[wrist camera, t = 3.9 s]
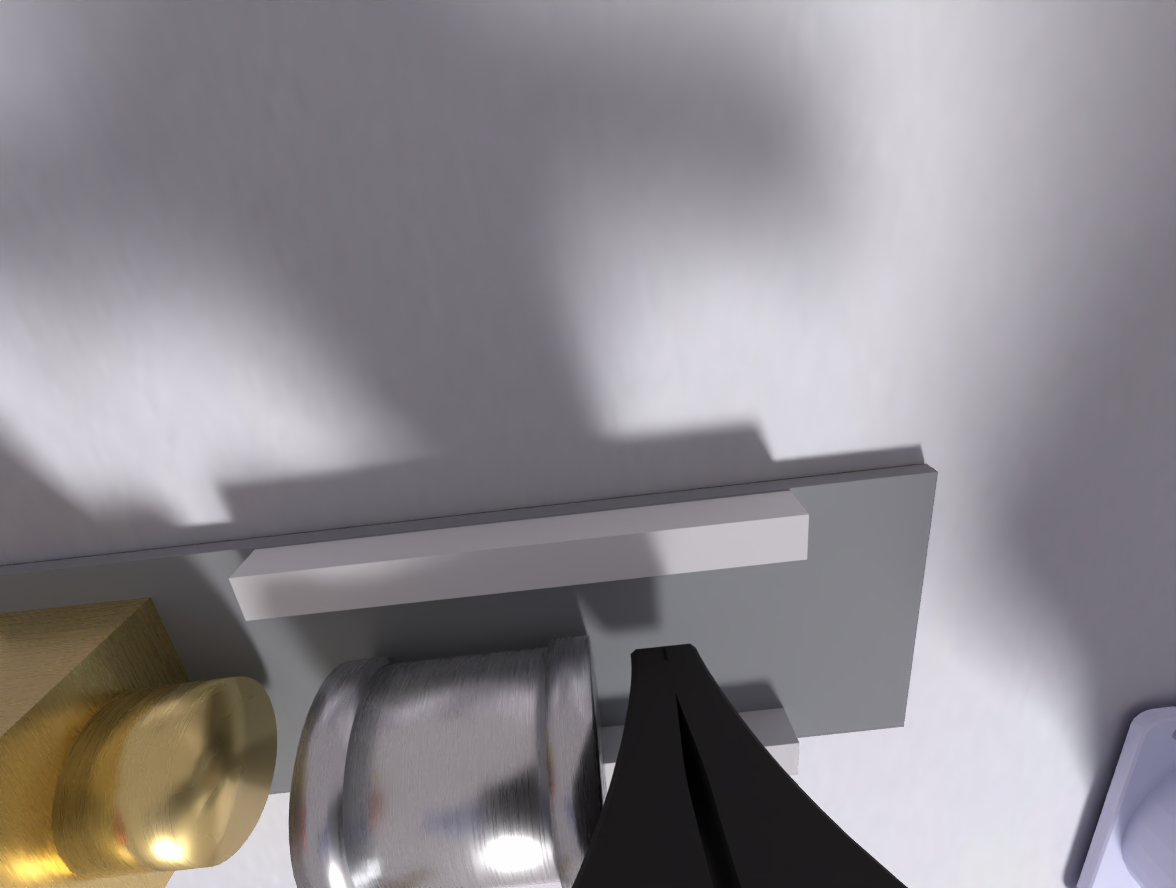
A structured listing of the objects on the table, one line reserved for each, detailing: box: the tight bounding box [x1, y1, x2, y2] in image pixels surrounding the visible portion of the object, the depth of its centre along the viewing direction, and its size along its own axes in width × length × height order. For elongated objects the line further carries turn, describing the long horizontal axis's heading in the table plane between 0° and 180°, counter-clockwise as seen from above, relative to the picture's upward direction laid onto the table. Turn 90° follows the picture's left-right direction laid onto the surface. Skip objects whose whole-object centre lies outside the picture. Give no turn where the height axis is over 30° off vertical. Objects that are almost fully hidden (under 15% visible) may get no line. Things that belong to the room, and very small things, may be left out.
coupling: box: [289, 635, 607, 888], centre depth 11 cm, size 5×4×4 cm
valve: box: [0, 597, 277, 888], centre depth 10 cm, size 7×5×7 cm
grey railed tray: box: [0, 464, 938, 794], centre depth 13 cm, size 20×7×1 cm, turn 96°
